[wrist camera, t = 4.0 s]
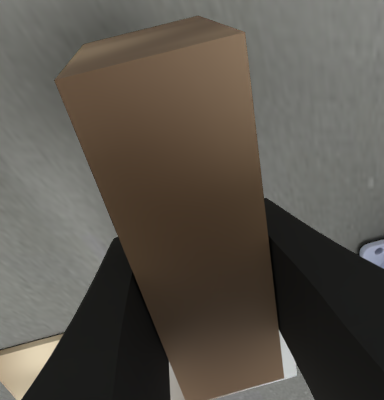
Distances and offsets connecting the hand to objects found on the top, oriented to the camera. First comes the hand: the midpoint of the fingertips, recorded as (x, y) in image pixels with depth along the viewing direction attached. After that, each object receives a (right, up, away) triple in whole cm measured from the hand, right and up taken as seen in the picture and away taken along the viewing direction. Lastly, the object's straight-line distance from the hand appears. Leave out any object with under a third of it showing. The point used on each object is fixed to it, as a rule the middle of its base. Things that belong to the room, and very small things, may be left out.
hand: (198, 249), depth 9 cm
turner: (0, 0, +2) cm, 2 cm away
